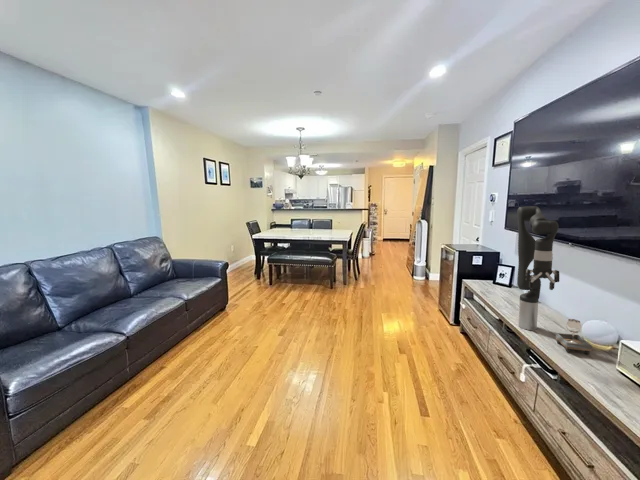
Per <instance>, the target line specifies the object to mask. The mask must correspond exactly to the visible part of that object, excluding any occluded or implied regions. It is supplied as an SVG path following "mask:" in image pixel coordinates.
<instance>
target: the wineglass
mask: <svg viewBox="0 0 640 480" xmlns="http://www.w3.org/2000/svg"><path fill="white" fill-rule="evenodd" d="M565 327H566V329H567V331H569V332H571V334H572V340H567V342H568V343H577V342H575V341H574V340H573V338H574V335H576V334H578V333H580V332H581V331H582V323H581V321H580V320H578V319H575V318H569V319H568V320H567V321H566V326H565ZM577 344H578V343H577Z"/></svg>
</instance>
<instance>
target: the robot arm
mask: <svg viewBox="0 0 640 480" xmlns="http://www.w3.org/2000/svg"><path fill="white" fill-rule="evenodd" d="M516 211H517V212H516V216H517V218H516V219H517V229H518V231H517V232H518V233H517V234H518V238H517V239H518V240H517V252H518V256H517V257H518V266H517V268H518V269H517V279H516V280H517V288H518V289H519V290H520V291H526V292H525V293H521V294H520V296H519V306H518V307H519V308H518V309H519V310H518V324H517V325H518V327H519V328H521V329H523V330H526V329H527V330H528V331H536V330H537V328H538V317H539V316H538V315H539V314H538V313H539V301H540V300H539V299H540V295H541V287H542V281H541V279H548V280H549V288H548V289H549V290H550V291H553V290H555V283H559V282H560V270H558V269H554V270H552V268H553V259H554V257H553V255H554V254H553V248H554V247H553V246H554V240H555V237H556V235H557V233H558V231H559V227H560V226H559V223H558V222H557V221H556V220H549V219H547V218H546V217H545V216H544V215H543V213H542V210H541V209H540V208H539V206H536V205H533V206H531V205H529V206H519V207H518V208H517V210H516ZM525 222H526V223H527V222H529V224H530V225H531V230H532V233H533V234H536V235H546V236H545V237H542V238H537V239H535V238H534V237H533V235H531V233H530V232H529V230H528V229H527V227H526V224H525ZM532 262H533V268H532V269H528V268H529V266H530V265H531V264H532ZM532 273H533V274H532ZM552 274H553V275H554V276H553V277H554V278H553V277H552V276H551V275H552Z"/></svg>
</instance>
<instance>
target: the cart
mask: <svg viewBox="0 0 640 480" xmlns="http://www.w3.org/2000/svg"><path fill="white" fill-rule="evenodd" d="M555 339H556V343H557V345H562V346H563V347H564V348H565V349H564V350H565V353H570V352H571V350H575V351H584V354H585V355H590V354H591V353H590V352H592V350H593V349H592V348H593V345H592V344H590V342H588V341H587V340H585V339H584V338H583V337H582V336H580V335H579V334H575V335H574V338H573V340H574V341H575V342H577V343H578V344H577V343H568V342H567V340H572V333H563V332H556V333H555Z"/></svg>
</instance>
